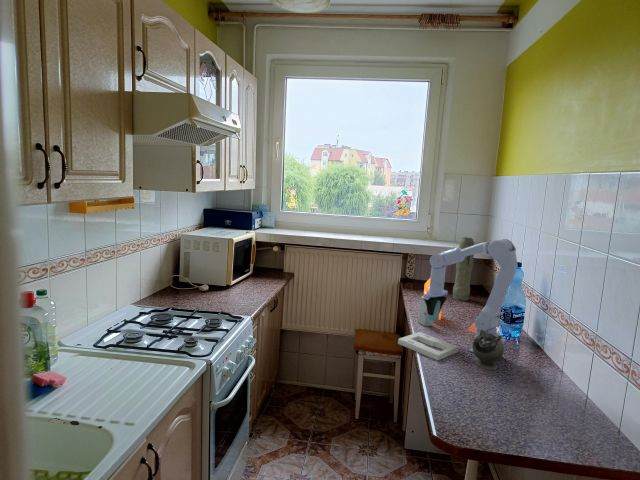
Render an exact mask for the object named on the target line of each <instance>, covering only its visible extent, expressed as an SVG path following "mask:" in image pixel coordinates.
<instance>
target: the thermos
mask: <svg viewBox="0 0 640 480" xmlns="http://www.w3.org/2000/svg"><path fill="white" fill-rule="evenodd" d="M474 245H475V241H474V239H473V238H472V237H466V236H465V237H464V236H463V237H461V239H460V241H459V246H458V248H461V249H465V248H468V247H471V246H474ZM474 255H475V254H474ZM474 255H470V256H466V257H465V258H464V260H463V261H461V262H458V263H455V268H456V271H455V280H454V285H453V288H452V298H453V300H456V301H460V300H461V301H462V302H467V300H468V301H469V298H470V294H471V286H470V285H471V276H472V270H473V268H474ZM461 301H460V302H461Z"/></svg>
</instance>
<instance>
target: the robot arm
mask: <svg viewBox="0 0 640 480" xmlns="http://www.w3.org/2000/svg"><path fill="white" fill-rule="evenodd" d="M516 252H517V248H516V246H515V245H514V243H513V242H512V241H511V240H510V239H506V238H502V239H499V240H496V239H494V240H492V241H491V240H490V241H484V242H480V243H477V244H474V246H471V247H468V248H465V249H461V248H459V247H456V246H452V247H451V248H450V249H448V250H442V251H440V253H434V254H432V255H431V256H430V257H429V265H431V269H430V276H429V279H430V286H429V290H427V293H426V294H424V293H423V296H424V298H423V299H424V301H425V303H426V306H427V312H428V314H429V315H433V314H434V309H435V306H436V303H437V302H438V300H439V301H440V311H441V308H442V309H443V306H444V304H445V302H446V301H447V299H448V290H446V289H444V287H445V280H446V279H445V278H446V269H447V266H450V265H454V264H456V263H458V262H461V261H463V260H464V258H465V257H466V256H470V255H478V254H481V253H482V254H485V255H490V257H492V258H493V259H494V260H495V262H497V264H498V265H499V267H500V269H499V271H498V275H497V276H496V279H495V281H494V284H493V287H492V289H491V291H490V294H489V296H488V299H487V300H486V303H485V306H484V307H483V308H482V310H481V311H480V313H479V315H477V317H476V318H474V319H475V320H474V326H475V336H474V339H475V338H476V337H477V336H479V335H480V332H481V329H482V330H483V331H484V332H485V333H490V334H493V335H495V336H497V337H498V336H501V337H502V338H501V341H502V343H503V344H504V337H503V335H502V334H499V332H498V331H497V327H498V326H499V325H500V323H501V317H500V316H501V313H502V311H501V308H502V306H503V304H504V300H505V298H506V296H507V293H508V291H509V289H510V286H511V284H512V281H513V279H514V277H515V275H516V272H517V269H518V260H517V254H516ZM440 311H439V313H440ZM441 312H442V311H441ZM468 351H469V352H472V353H474V352H473V347H472V348H470V349H469V350H468Z"/></svg>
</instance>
